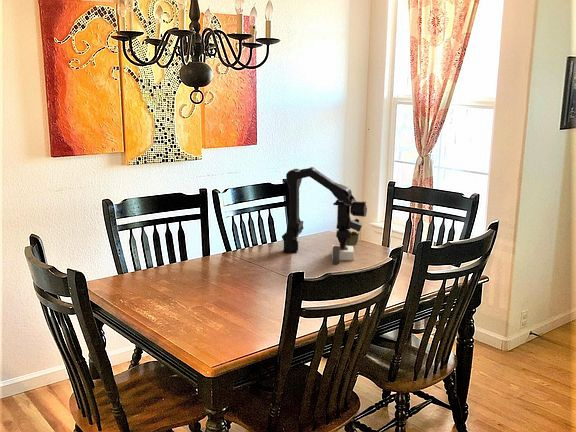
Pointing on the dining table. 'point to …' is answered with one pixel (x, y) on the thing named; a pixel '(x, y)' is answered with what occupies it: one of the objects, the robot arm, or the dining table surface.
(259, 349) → the dining table surface
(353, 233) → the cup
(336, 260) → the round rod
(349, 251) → the socket block
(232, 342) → the dining table surface
